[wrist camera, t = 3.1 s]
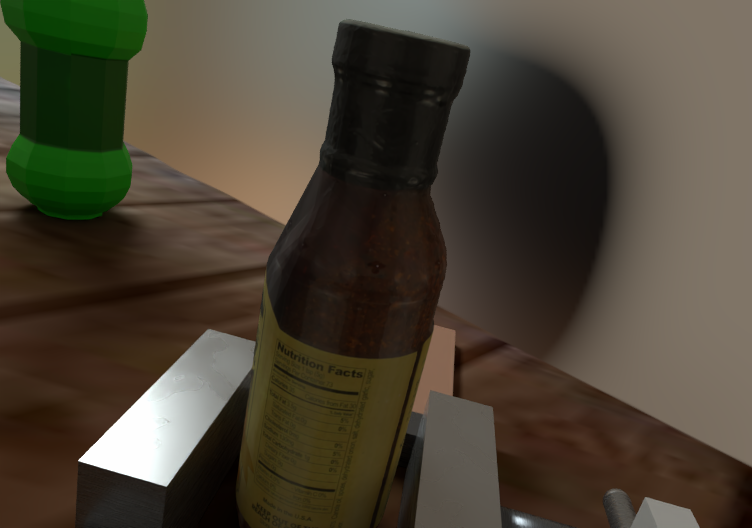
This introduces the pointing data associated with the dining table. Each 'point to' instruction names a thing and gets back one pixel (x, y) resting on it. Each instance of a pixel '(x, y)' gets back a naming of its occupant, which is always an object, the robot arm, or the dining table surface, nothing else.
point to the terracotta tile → (437, 367)
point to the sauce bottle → (351, 291)
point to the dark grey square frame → (224, 439)
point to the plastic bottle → (73, 102)
